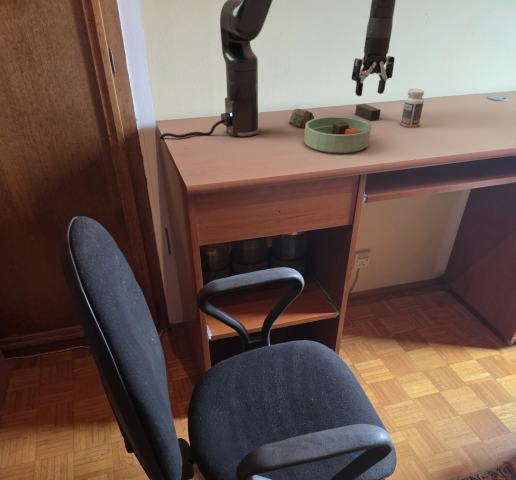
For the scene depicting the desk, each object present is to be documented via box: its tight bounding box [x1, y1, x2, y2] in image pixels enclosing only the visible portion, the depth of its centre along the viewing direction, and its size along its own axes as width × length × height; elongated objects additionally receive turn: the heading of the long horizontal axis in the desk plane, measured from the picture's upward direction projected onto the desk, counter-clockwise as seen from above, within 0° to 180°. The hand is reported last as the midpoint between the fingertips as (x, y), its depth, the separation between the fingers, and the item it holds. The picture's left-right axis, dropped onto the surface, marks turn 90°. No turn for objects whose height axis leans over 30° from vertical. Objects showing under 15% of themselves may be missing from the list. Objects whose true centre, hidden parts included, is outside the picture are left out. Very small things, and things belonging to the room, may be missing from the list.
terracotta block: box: [345, 128, 363, 135], centre depth 129 cm, size 4×4×4 cm
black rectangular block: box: [354, 103, 381, 122], centre depth 152 cm, size 9×4×3 cm, turn 25°
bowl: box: [303, 116, 372, 154], centre depth 130 cm, size 19×19×5 cm
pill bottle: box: [400, 88, 425, 128], centre depth 142 cm, size 6×6×10 cm
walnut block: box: [332, 122, 349, 135], centre depth 133 cm, size 4×4×4 cm
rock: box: [289, 108, 315, 129], centre depth 145 cm, size 7×8×4 cm
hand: (369, 94), depth 148 cm, fingers open, 8 cm apart
